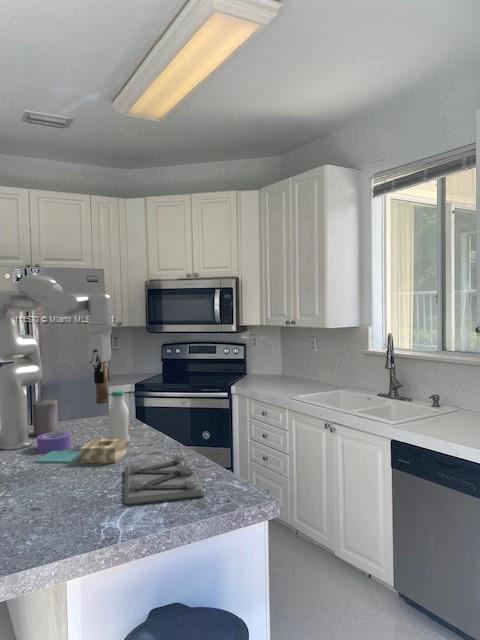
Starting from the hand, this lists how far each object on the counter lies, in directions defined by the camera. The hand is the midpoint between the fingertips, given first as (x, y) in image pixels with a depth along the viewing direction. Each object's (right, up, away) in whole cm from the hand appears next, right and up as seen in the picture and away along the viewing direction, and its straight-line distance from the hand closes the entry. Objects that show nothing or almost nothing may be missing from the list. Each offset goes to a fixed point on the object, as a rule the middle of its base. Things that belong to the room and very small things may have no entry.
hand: (101, 381), depth 173 cm
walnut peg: (0, -7, 0) cm, 7 cm away
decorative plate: (+25, -28, -26) cm, 45 cm away
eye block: (+1, -27, +1) cm, 27 cm away
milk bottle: (+1, -26, +20) cm, 33 cm away
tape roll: (-22, -27, +15) cm, 38 cm away
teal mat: (-15, -27, +2) cm, 31 cm away
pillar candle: (-33, -27, +36) cm, 56 cm away
